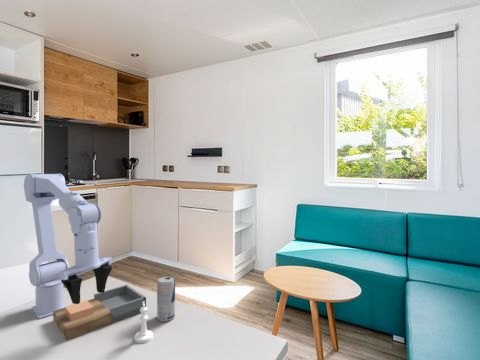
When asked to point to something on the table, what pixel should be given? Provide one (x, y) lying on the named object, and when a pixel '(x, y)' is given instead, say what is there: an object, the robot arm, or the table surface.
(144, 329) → the chess piece
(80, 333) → the walnut plate
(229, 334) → the table surface
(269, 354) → the table surface
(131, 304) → the tray
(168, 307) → the energy drink
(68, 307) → the terracotta tile
